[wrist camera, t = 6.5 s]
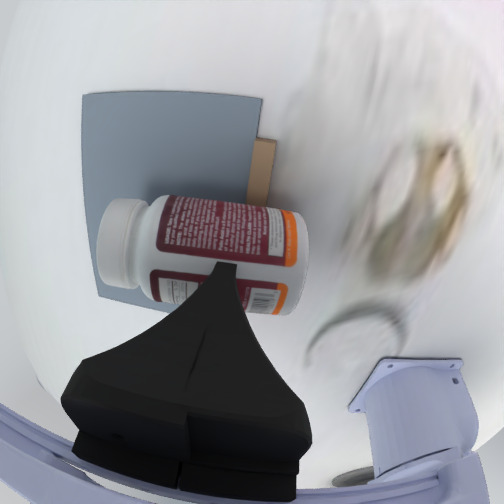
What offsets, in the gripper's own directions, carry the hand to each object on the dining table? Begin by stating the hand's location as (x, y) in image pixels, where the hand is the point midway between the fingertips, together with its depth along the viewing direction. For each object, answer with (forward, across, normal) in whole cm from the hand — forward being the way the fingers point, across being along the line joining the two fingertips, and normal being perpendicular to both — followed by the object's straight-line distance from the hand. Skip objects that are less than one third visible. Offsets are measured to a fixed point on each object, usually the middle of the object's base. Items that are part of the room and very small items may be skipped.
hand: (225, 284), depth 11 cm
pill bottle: (+3, -3, 0) cm, 4 cm away
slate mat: (+6, +5, 0) cm, 8 cm away
